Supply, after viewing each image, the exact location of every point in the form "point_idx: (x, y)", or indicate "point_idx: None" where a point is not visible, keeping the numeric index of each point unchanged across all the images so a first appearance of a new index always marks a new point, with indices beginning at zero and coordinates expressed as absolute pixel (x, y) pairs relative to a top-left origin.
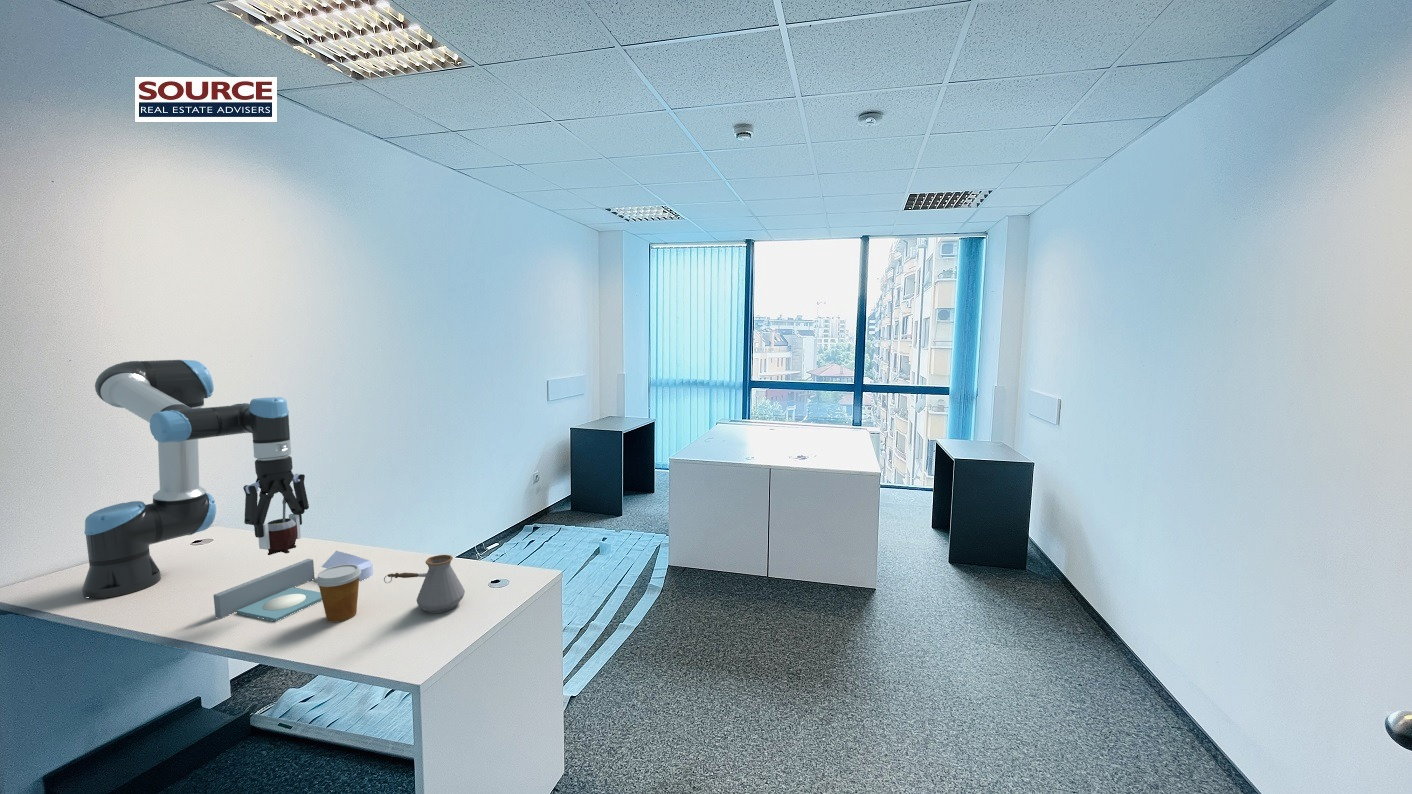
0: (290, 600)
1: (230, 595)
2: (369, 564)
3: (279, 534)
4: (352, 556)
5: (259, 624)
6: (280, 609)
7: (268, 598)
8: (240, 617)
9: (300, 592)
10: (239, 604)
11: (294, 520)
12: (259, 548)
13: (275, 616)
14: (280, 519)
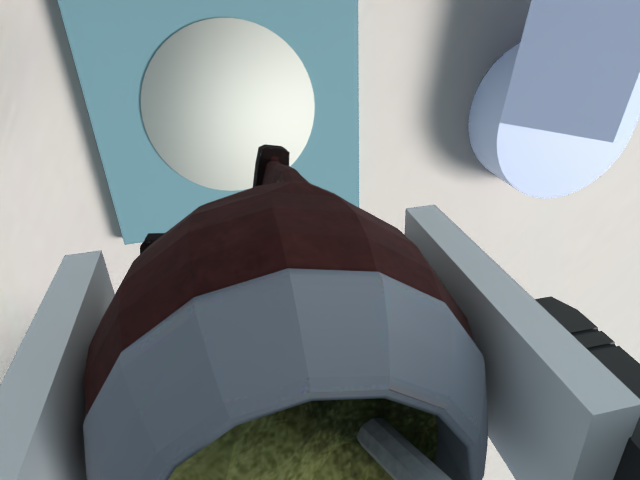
0: (250, 123)
1: None
2: (592, 172)
3: None
4: (604, 137)
5: (75, 200)
6: (178, 174)
7: None
8: (47, 38)
9: (326, 72)
10: None
11: (508, 434)
12: (65, 256)
13: (133, 221)
14: (418, 400)
